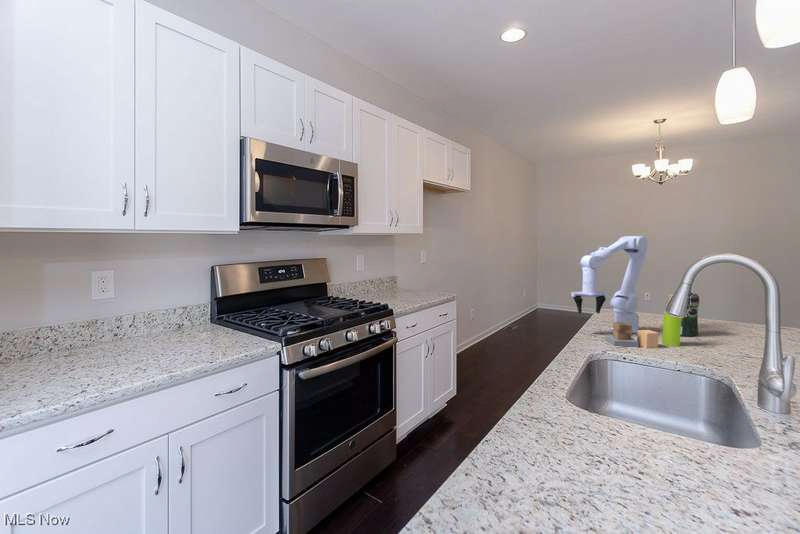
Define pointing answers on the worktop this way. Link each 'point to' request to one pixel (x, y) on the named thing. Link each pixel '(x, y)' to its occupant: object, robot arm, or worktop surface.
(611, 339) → the gray slab
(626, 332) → the walnut cube
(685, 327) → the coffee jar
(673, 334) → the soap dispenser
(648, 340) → the orange faceted block
